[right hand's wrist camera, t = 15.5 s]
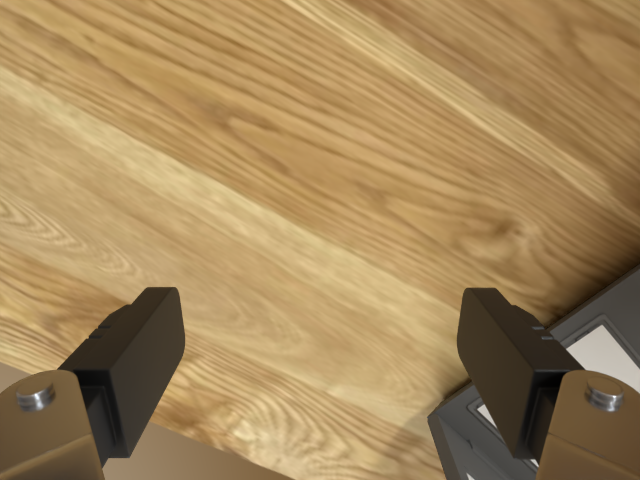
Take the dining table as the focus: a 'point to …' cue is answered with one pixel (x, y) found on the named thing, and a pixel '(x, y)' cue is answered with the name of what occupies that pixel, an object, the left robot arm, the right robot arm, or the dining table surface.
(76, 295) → the dining table surface
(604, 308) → the laptop
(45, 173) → the dining table surface
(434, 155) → the dining table surface
